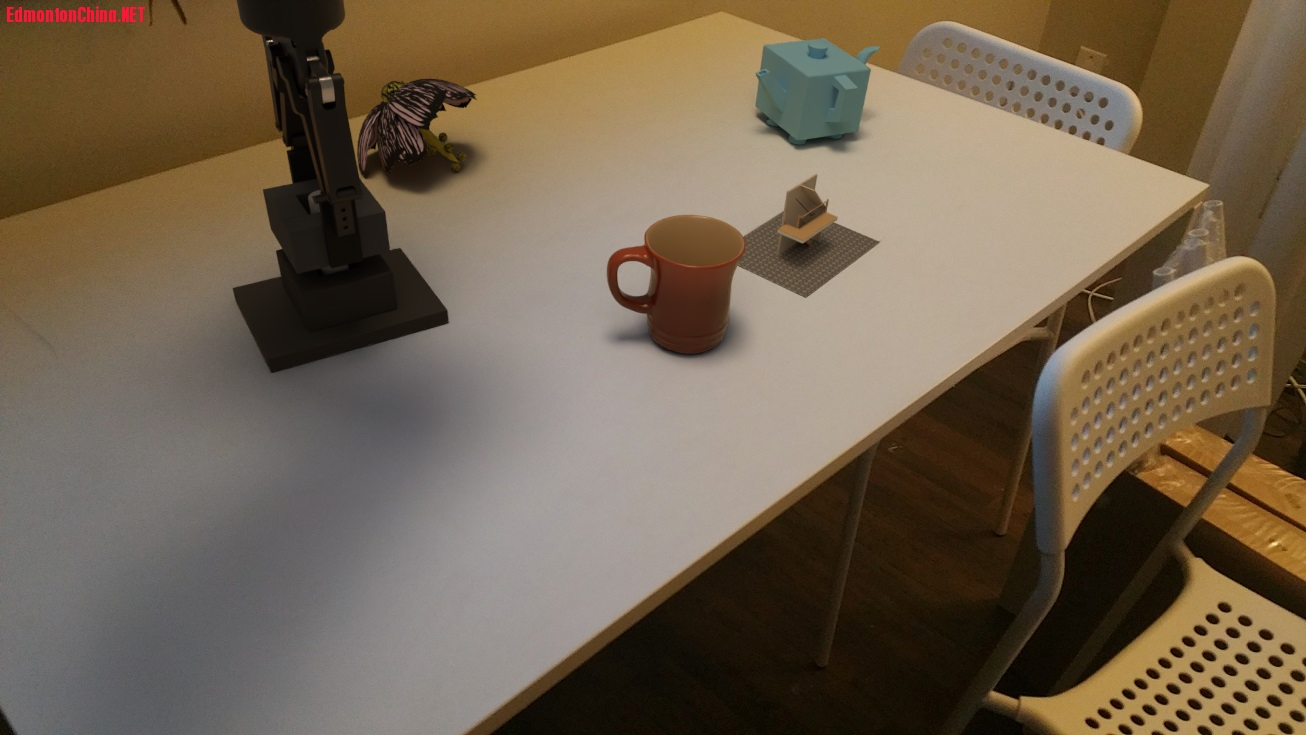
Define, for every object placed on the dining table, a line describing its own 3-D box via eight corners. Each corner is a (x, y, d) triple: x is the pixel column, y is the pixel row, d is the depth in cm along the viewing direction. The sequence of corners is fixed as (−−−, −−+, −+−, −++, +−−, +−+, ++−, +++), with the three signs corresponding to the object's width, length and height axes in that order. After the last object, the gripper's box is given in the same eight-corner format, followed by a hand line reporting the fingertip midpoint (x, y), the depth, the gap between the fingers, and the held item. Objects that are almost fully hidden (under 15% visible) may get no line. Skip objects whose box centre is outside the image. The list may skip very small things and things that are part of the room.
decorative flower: (399, 49, 116) (480, 47, 106) (445, 134, 123) (525, 140, 113) (308, 118, 109) (386, 122, 99) (362, 203, 116) (440, 216, 107)
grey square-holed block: (297, 274, 82) (289, 232, 79) (270, 229, 87) (262, 189, 84) (390, 251, 85) (385, 211, 83) (359, 210, 90) (354, 170, 88)
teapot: (720, 113, 131) (729, 28, 124) (833, 97, 137) (848, 16, 130) (781, 165, 120) (795, 75, 113) (901, 145, 126) (921, 59, 119)
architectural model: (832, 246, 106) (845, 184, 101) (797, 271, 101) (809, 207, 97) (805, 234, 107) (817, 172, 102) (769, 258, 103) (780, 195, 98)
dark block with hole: (309, 333, 86) (301, 295, 83) (283, 287, 91) (275, 250, 88) (397, 309, 89) (393, 272, 87) (367, 266, 94) (362, 230, 92)
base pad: (271, 373, 83) (243, 252, 76) (235, 301, 91) (207, 184, 84) (448, 323, 90) (439, 207, 83) (401, 260, 98) (389, 149, 91)
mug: (718, 305, 95) (730, 211, 89) (743, 360, 89) (758, 263, 82) (596, 313, 93) (599, 218, 87) (612, 371, 86) (617, 272, 80)
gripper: (385, 8, 67) (415, 287, 81) (296, -74, 80) (334, 178, 94) (272, 22, 63) (324, 311, 78) (199, -65, 77) (254, 194, 91)
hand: (330, 238), depth 86 cm, fingers closed on grey square-holed block, 8 cm apart
